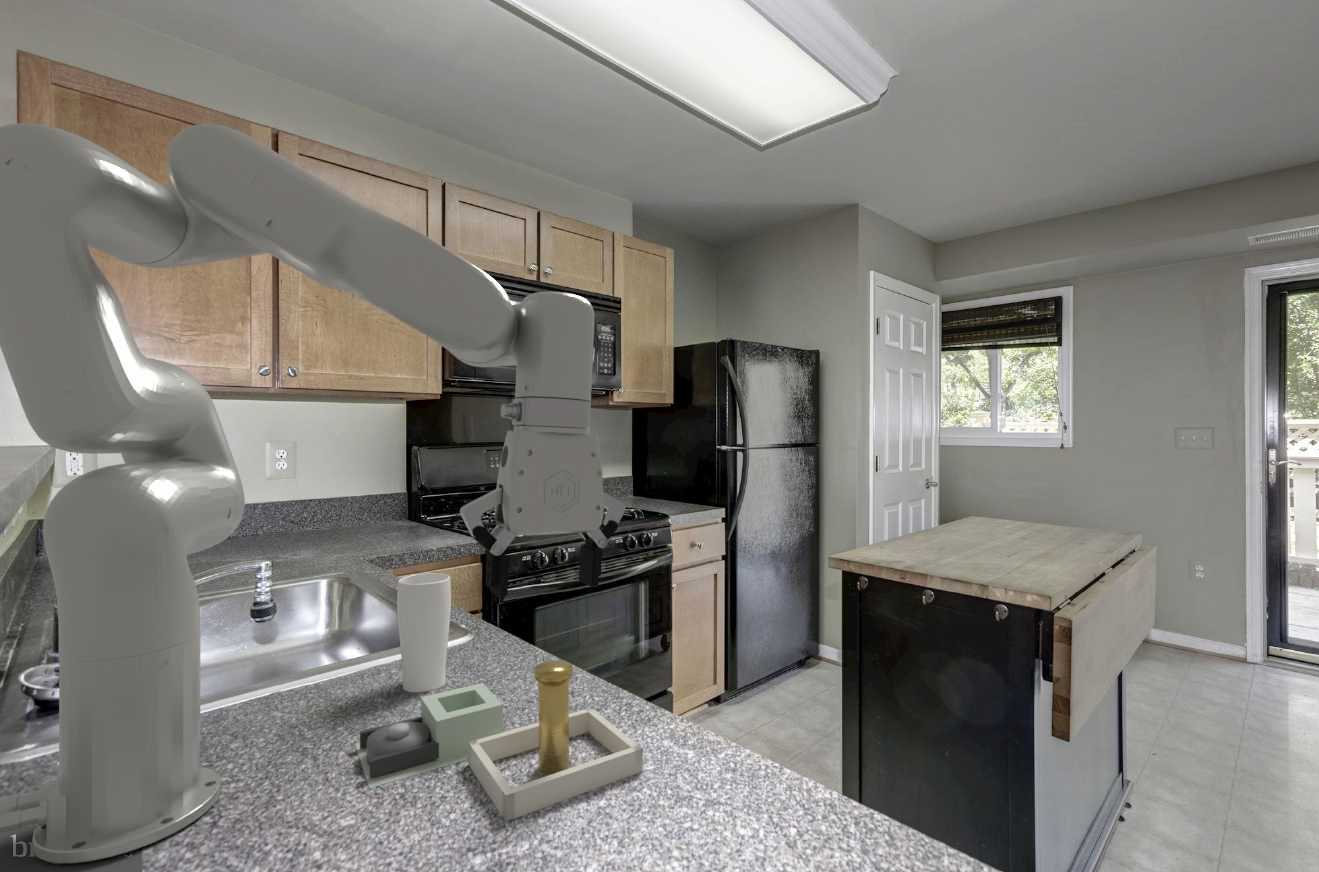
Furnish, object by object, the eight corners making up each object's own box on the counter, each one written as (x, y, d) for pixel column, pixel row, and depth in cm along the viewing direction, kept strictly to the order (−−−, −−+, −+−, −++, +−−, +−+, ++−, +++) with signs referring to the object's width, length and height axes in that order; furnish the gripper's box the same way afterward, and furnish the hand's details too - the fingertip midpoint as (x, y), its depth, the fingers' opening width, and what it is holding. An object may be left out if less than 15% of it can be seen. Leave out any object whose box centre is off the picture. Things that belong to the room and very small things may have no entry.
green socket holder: (369, 796, 57) (369, 745, 57) (354, 751, 65) (354, 706, 65) (512, 753, 65) (512, 708, 65) (483, 717, 73) (483, 677, 73)
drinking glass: (432, 702, 77) (432, 585, 77) (386, 698, 79) (385, 583, 79) (460, 681, 84) (460, 573, 84) (416, 677, 85) (416, 571, 85)
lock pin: (543, 784, 58) (543, 678, 58) (528, 766, 61) (528, 665, 61) (579, 772, 60) (579, 669, 60) (563, 755, 63) (562, 657, 63)
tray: (505, 830, 52) (505, 795, 52) (468, 771, 61) (468, 742, 61) (642, 778, 60) (642, 748, 60) (591, 733, 69) (591, 707, 69)
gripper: (478, 412, 53) (469, 609, 52) (645, 423, 62) (638, 589, 62) (454, 414, 59) (446, 589, 59) (609, 423, 69) (603, 574, 68)
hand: (545, 589), depth 60 cm, fingers open, 9 cm apart
